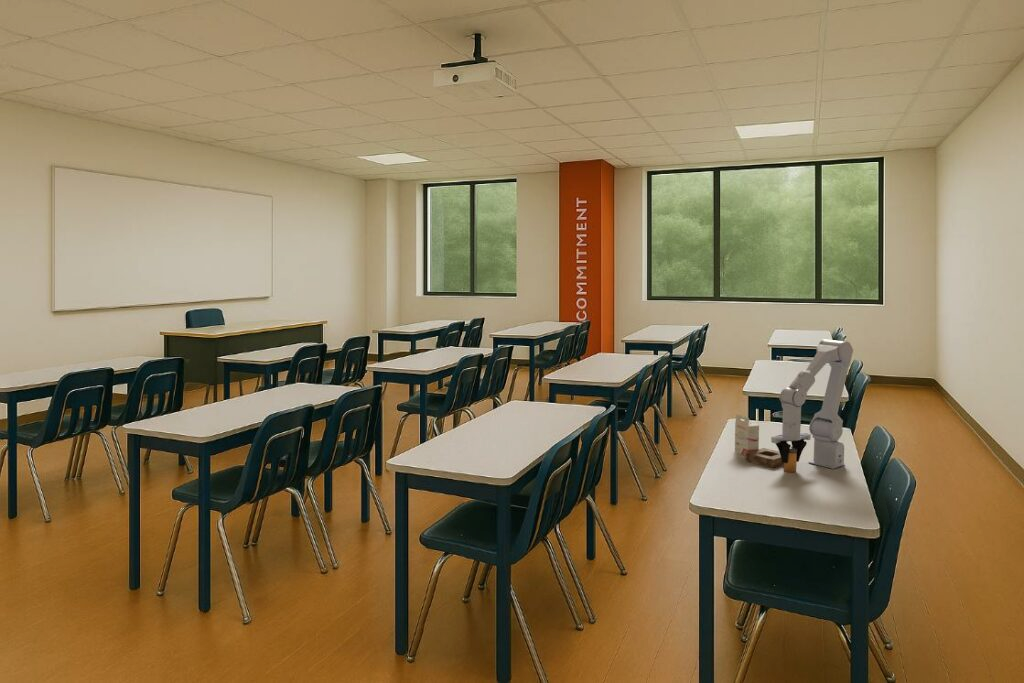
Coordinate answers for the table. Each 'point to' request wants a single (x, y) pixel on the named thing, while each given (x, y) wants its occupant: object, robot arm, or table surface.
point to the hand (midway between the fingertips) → (790, 461)
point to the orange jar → (791, 461)
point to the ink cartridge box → (746, 436)
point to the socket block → (765, 457)
